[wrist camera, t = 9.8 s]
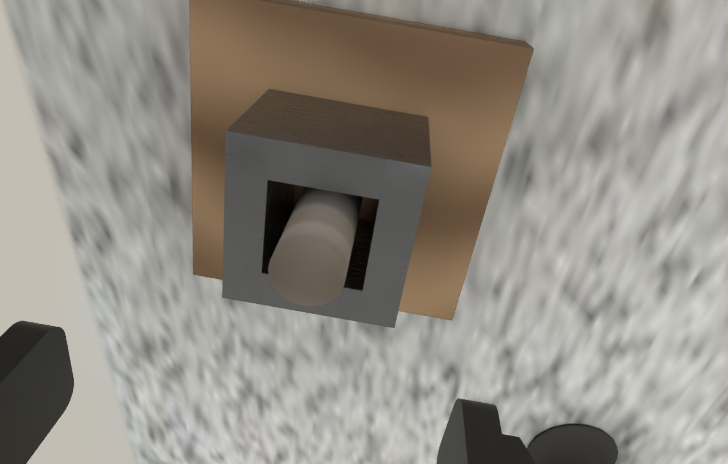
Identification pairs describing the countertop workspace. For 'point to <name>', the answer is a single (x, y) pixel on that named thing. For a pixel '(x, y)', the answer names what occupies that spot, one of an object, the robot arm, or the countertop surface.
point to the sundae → (573, 446)
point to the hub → (327, 172)
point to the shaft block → (363, 87)
